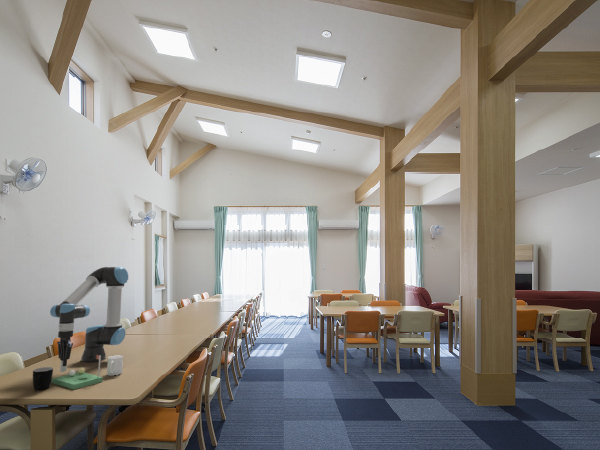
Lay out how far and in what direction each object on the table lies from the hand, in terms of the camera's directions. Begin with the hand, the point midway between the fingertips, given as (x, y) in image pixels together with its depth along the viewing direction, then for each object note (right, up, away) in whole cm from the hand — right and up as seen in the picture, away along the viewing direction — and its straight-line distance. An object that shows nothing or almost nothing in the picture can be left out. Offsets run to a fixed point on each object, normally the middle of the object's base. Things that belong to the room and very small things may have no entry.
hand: (63, 371), depth 220 cm
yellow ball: (+11, 0, 0) cm, 11 cm away
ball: (+8, +1, -4) cm, 9 cm away
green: (+13, -3, -8) cm, 16 cm away
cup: (+26, -5, +7) cm, 28 cm away
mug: (+1, -2, -21) cm, 21 cm away
